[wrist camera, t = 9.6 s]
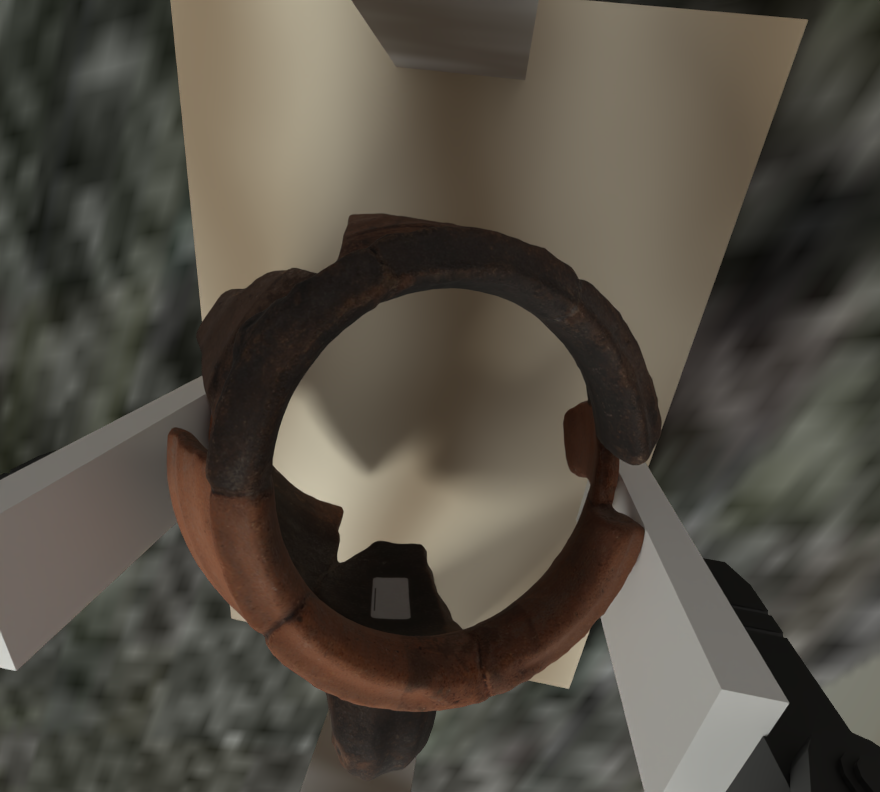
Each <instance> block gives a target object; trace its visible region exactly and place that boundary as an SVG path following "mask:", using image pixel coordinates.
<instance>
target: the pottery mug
mask: <svg viewBox="0 0 880 792" xmlns="http://www.w3.org/2000/svg"><path fill="white" fill-rule="evenodd" d="M449 288H456V289H467V290H473V291H479V292H483V293H487V294H490V295H495V296H498V297H500V298H503V299H506V300H508V301H511V302H513V303H515V304H517V305H518V306H520V307H522V308H524V309H525V310H527V311H528V312H530V313H532V314H533V315H534V316H536V317H537V318H538V319H539V320H540V321H541V322H542V323H543V324H544V325H545V326H546V327H547V328H548V329H549V330H550V331H551V332H552V333H553V334H554V335H555V336H556V337H557V338H558V339H559V340H560V341H561V342H562V343H563V344H564V346H565V347H566V348H567V350H568V351H569V353H570V354H571V355H572V357H573V358H574V360H575V362H576V364H577V366H578V368H579V369H580V371H581V374H582V376H583V379H584V381H585V384H586V390H587V397H588V400H587V401H584V402H581V403H579V404H578V405H576V406H575V407H573V408H571V409H569V410H568V411H567V412H566V413H565V415H564V420H563V430H564V446H565V455H566V460H567V464H568V467H569V469H570V471H571V472H572V473H574V474H575V475H576V476H578V477H582V478H587V479H588V480H589V482H590V488H589V491H588V494H587V497H586V500H585V503H584V506H583V509H582V512H581V515H580V517H579V520H578V522H577V524H576V526H575V528H574V530H573V532H572V534H571V536H570V537H569V539H568V540H567V542H566V544H565V546H564V547H563V549H562V551H561V552H560V553H559V555H558V556H557V557H556V558H555V559H554V561H553V562H552V564H551V566H550V567H549V568H548V570H547V571H546V572H545V573H544V574H543V575H542V577H541V578H540V579H539V580H538V581H537V582H536V583H535V584H534V585H533V586H532V587H531V588H529V589H528V590H527V591H526V592H525V593H524V594H523V595H522V596H520V597H519V598H518V599H517V600H516V601H514V602H513V603H511V604H510V605H509V606H508V607H506V608H505V609H503V610H502V611H501V612H499V613H497V614H496V615H494V616H492V617H490V618H488V619H486V620H484V621H481V622H479V623H477V624H476V625H474V626H472V627H469V628H466V629H462V628H461V627H460V626H459V624H457V623H456V622H455V621H453V619H452V616H451V613H450V611H449V609H448V607H447V605H446V604H445V603H444V601H443V600H442V598H441V597H440V595H439V594H438V592H437V588H436V585H435V582H434V576H433V572H432V570H431V568H430V567H429V565H428V562H427V551H426V549H425V548H424V546H423V545H422V544H413V543H410V544H397V543H391V542H387V541H376V542H374V543H372V544H371V545H370V546H369V547H368V548H366V549H365V550H363V551H361V552H359V553H358V554H356V555H354V556H353V557H351V558H350V559H348V560H346V561H345V562H341V563H340V562H338V559H337V553H338V549H339V543H340V534H339V531H338V530H339V527H340V524H341V521H342V518H343V513H344V511H343V508H342V507H341V506H337V505H334V504H331V503H327V502H324V501H321V500H318V499H316V498H314V497H312V496H310V495H308V494H306V493H304V492H302V491H301V490H299V489H298V488H296V487H295V486H294V485H293V484H292V483H290V482H289V481H288V480H287V479H286V478H285V477H284V476H283V475H282V474H281V473H280V472H279V471H278V470H277V469H276V468H275V467H274V466H273V456H274V450H275V445H276V440H277V437H278V432H279V429H280V425H281V422H282V419H283V416H284V414H285V411H286V409H287V406H288V404H289V401H290V399H291V397H292V395H293V393H294V391H295V389H296V388H297V386H298V384H299V383H300V381H301V380H302V378H303V377H304V375H305V374H306V372H307V371H308V369H309V368H310V367H311V365H312V364H313V363H314V362H315V360H316V359H317V358H318V356H319V355H320V354H321V352H322V351H323V350H324V349H325V348H326V347H327V345H328V344H329V343H330V342H331V341H333V340H334V339H335V338H336V337H337V336H338V335H339V334H340V333H341V332H342V331H343V330H345V329H346V328H347V327H349V326H350V325H351V324H353V323H354V322H355V321H356V320H358V319H359V318H360V317H361V316H363V315H364V314H366V313H367V312H369V311H371V310H373V309H374V308H376V307H377V305H378V304H379V303H382V302H386V301H389V300H391V299H394V298H398V297H401V296H404V295H407V294H411V293H415V292H421V291H427V290H432V289H449ZM196 338H197V341H198V344H199V346H200V349H201V352H202V377H203V385H204V390H205V393H206V396H207V399H208V402H209V405H210V408H211V418H210V426H209V434H208V444H209V445H208V449H206V448H205V447H204V446H203V445H202V444H201V443H200V442H199V440H198V439H197V438H196V437H195V436H194V435H193V434H192V433H190V432H189V431H187V430H184V429H182V428H177V427H174V428H172V429H171V430H170V432H169V434H168V439H167V480H168V485H169V492H170V497H171V501H172V506H173V510H174V513H175V516H176V519H177V522H178V525H179V527H180V530H181V533H182V535H183V537H184V539H185V542H186V544H187V546H188V548H189V550H190V552H191V554H192V556H193V557H194V559H195V561H196V563H197V564H198V566H199V567H200V568H201V570H202V571H203V573H204V574H205V576H206V577H207V578H208V580H209V581H210V582H211V584H212V585H213V586H214V588H215V589H216V590H217V591H218V592H219V593H220V594H221V595H222V597H223V598H224V599H225V600H226V601H227V602H228V603H229V604H230V606H231V607H232V608H233V609H235V610H236V611H237V612H238V613H239V614H240V615H241V616H242V617H243V618H244V619H245V620H246V621H247V622H248V624H249V625H250V626H251V627H252V628H253V629H254V630H255V631H257V632H259V633H261V634H263V635H264V637H265V640H266V644H267V646H268V648H269V649H270V651H271V652H272V654H273V655H274V656H275V657H276V658H277V659H278V660H279V661H280V662H281V663H282V664H283V665H284V666H286V667H288V668H289V669H290V670H292V671H293V672H294V673H296V674H298V675H299V676H301V677H303V678H304V679H305V680H307V681H308V682H309V683H311V684H312V685H313V686H314V687H316V688H318V689H320V690H323V691H324V692H326V696H327V702H328V708H329V712H330V719H331V726H332V733H331V734H332V737H331V740H332V744H333V745H334V747H335V749H336V752H337V755H338V758H339V761H340V763H341V765H342V766H343V767H344V768H345V769H346V770H347V772H348V773H350V774H351V775H353V776H356V777H359V778H361V779H363V780H365V781H371V780H373V779H375V778H377V777H379V776H381V775H383V774H386V773H388V772H390V771H397V770H402V769H404V768H406V767H407V766H408V765H409V764H410V763H411V762H412V760H413V759H414V758H415V757H416V756H417V754H418V753H420V752H421V750H422V749H423V748H424V746H425V745H426V743H427V741H428V738H429V736H430V733H431V730H432V728H433V724H434V720H435V715H436V711H440V710H446V709H452V708H459V707H464V706H467V705H471V704H476V703H481V702H483V701H485V700H487V699H488V698H489V697H491V696H494V695H496V694H503V693H505V692H507V691H510V690H512V689H513V688H514V687H516V686H517V685H519V684H521V683H523V682H526V681H528V680H529V679H531V678H532V677H533V676H534V675H536V674H538V673H540V672H541V671H543V670H544V669H545V668H546V667H547V666H549V665H550V664H551V663H553V662H556V661H557V660H558V659H559V658H561V657H562V656H563V655H564V654H566V653H567V652H568V651H569V650H570V649H571V648H572V647H573V646H574V645H575V644H577V643H578V642H579V641H580V640H581V639H582V638H584V637H585V636H586V634H587V633H588V632H589V630H590V628H591V627H592V625H593V624H594V623H595V622H596V621H597V619H599V618H600V617H601V616H602V615H604V614H605V612H606V610H607V609H608V607H609V606H610V604H611V603H612V602H613V600H614V599H615V597H616V596H617V595H618V593H619V592H620V590H621V589H622V587H623V585H624V583H625V581H626V579H627V577H628V575H629V574H630V573H631V571H632V569H633V567H634V565H635V563H636V561H637V558H638V556H639V554H640V551H641V548H642V544H643V540H644V534H645V530H644V528H643V527H642V526H641V525H640V524H638V523H637V522H636V521H634V520H633V519H632V518H630V517H629V516H627V515H625V514H623V513H619V512H617V511H616V510H615V509H614V508H613V506H612V503H613V500H614V494H615V490H616V487H617V482H618V476H619V460H622V461H624V462H626V463H627V464H630V465H641V464H643V463H645V462H646V461H647V460H648V459H649V457H650V455H651V453H652V451H653V449H654V447H655V445H656V444H657V442H658V440H659V438H660V436H661V427H662V420H661V415H660V411H659V407H658V398H657V395H656V391H655V387H654V384H653V379H652V377H651V376H650V374H649V372H648V370H647V367H646V364H645V360H644V358H643V355H642V352H641V349H640V347H639V344H638V342H637V341H636V339H635V338H634V336H633V334H632V332H631V330H630V329H629V327H628V325H627V323H626V322H625V321H624V320H623V318H622V316H621V314H620V312H619V311H618V310H617V309H616V308H615V307H614V306H613V305H612V304H611V303H610V302H609V300H608V299H607V298H606V297H604V296H603V295H602V294H601V293H600V292H599V290H597V289H596V288H595V286H594V285H592V284H591V283H590V282H588V281H586V280H582V279H579V278H578V276H577V274H576V273H575V271H574V270H573V268H572V267H571V266H569V265H568V264H566V263H564V262H563V261H561V260H559V259H558V258H556V257H555V256H554V255H553V254H552V253H550V252H549V251H548V250H547V249H545V248H543V247H539V246H536V245H531V244H529V243H526V242H523V241H522V240H520V239H517V238H514V237H511V236H507V235H505V234H502V233H500V232H497V231H492V230H487V229H482V228H477V227H466V226H460V225H456V224H453V223H442V222H436V221H429V220H424V219H417V218H412V217H406V216H396V215H390V214H385V213H376V214H352V215H350V216H349V218H348V225H347V227H346V230H345V232H344V235H343V241H342V246H341V250H340V253H339V257H338V259H337V261H336V262H335V263H333V264H331V265H329V266H328V267H326V268H325V269H323V270H321V271H320V272H319V273H314V272H309V271H307V270H302V269H299V268H290V269H288V270H279V271H272V272H269V273H266V274H264V275H263V276H261V277H259V278H257V279H256V280H255V281H254V282H253V283H252V284H250V285H249V286H248V287H246V288H245V289H231V290H228V291H225V292H224V293H223V294H221V295H220V297H219V298H218V299H217V301H216V302H215V304H214V305H213V307H212V308H211V310H210V311H209V313H208V314H207V315H206V317H205V318H204V320H203V321H202V323H201V325H200V327H199V329H198V331H197V336H196Z"/></svg>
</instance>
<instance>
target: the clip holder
mask: <svg viewBox="0 0 880 792" xmlns="http://www.w3.org/2000/svg"><path fill="white" fill-rule="evenodd" d="M171 10H172V20H173V30H174V40H175V51H176V61H177V71H178V81H179V91H180V101H181V111H182V121H183V132H184V142H185V152H186V162H187V172H188V182H189V192H190V202H191V213H192V223H193V233H194V243H195V253H196V263H197V273H198V284H199V294H200V304H201V314H202V321H203V320H204V318H205V317H206V315H207V314H208V313H209V311H210V310H211V308H212V307H213V305H214V304H215V302H216V301H217V299H218V298H219V297H220V295H221V294H223V293H224V292H225V291H228V290H231V289H245V288H246V287H248V286H249V285H250V284H252V283H253V282H254V281H255V280H256V279H257V278H259V277H261V276H263V275H264V274H266V273H269V272H272V271H279V270H288V269H290V268H299V269H302V270H307V271H309V272H314V273H319V272H320V271H321V270H323V269H325V268H326V267H328V266H329V265H331V264H333V263H335V262H336V261H337V259H338V257H339V253H340V250H341V246H342V241H343V235H344V232H345V230H346V227H347V225H348V218H349V216H350V215H352V214H376V213H385V214H390V215H396V216H406V217H412V218H417V219H424V220H429V221H436V222H442V223H453V224H456V225H460V226H466V227H477V228H482V229H487V230H492V231H497V232H500V233H502V234H505V235H507V236H511V237H514V238H517V239H520V240H522V241H523V242H526V243H529V244H531V245H536V246H539V247H543V248H545V249H547V250H548V251H549V252H550V253H552V254H553V255H554V256H555V257H556V258H558V259H559V260H561V261H563V262H564V263H566V264H568V265H569V266H571V267H572V268H573V270H574V271H575V273H576V274H577V276H578V278H579V279H582V280H586V281H588V282H590V283H591V284H592V285H594V286H595V288H596V289H597V290H599V292H600V293H601V294H602V295H603V296H604V297H606V298H607V299H608V300H609V302H610V303H611V304H612V305H613V306H614V307H615V308H616V309H617V310H618V311H619V312H620V314H621V316H622V318H623V320H624V321H625V322H626V323H627V325H628V327H629V329H630V330H631V332H632V334H633V336H634V338H635V339H636V341H637V342H638V344H639V347H640V349H641V352H642V355H643V358H644V360H645V364H646V367H647V370H648V372H649V374H650V376H651V377H652V379H653V384H654V387H655V391H656V395H657V398H658V407H659V411H660V415H661V420H662V427H663V424H664V422H665V419H666V416H667V413H668V410H669V408H670V405H671V402H672V399H673V396H674V394H675V391H676V388H677V385H678V382H679V380H680V377H681V374H682V371H683V368H684V366H685V363H686V360H687V357H688V354H689V352H690V349H691V346H692V343H693V341H694V338H695V335H696V332H697V329H698V327H699V324H700V321H701V318H702V315H703V313H704V310H705V307H706V304H707V301H708V299H709V296H710V293H711V290H712V287H713V285H714V282H715V279H716V276H717V273H718V271H719V268H720V265H721V262H722V259H723V257H724V254H725V251H726V248H727V245H728V243H729V240H730V237H731V234H732V231H733V229H734V226H735V223H736V220H737V218H738V215H739V212H740V209H741V206H742V204H743V201H744V198H745V195H746V192H747V190H748V187H749V184H750V181H751V178H752V176H753V173H754V170H755V167H756V164H757V162H758V159H759V156H760V153H761V150H762V148H763V145H764V142H765V139H766V136H767V134H768V131H769V128H770V125H771V122H772V120H773V117H774V114H775V111H776V108H777V106H778V103H779V100H780V97H781V95H782V92H783V89H784V86H785V83H786V81H787V78H788V75H789V72H790V69H791V67H792V64H793V61H794V58H795V55H796V53H797V50H798V47H799V44H800V41H801V39H802V36H803V33H804V30H805V27H806V25H807V22H808V20H807V19H795V18H784V17H773V16H761V15H750V14H738V13H727V12H715V11H704V10H692V9H681V8H669V7H658V6H647V5H635V4H624V3H612V2H601V1H589V0H171ZM587 400H588V397H587V390H586V384H585V381H584V379H583V376H582V374H581V371H580V369H579V368H578V366H577V364H576V362H575V360H574V358H573V357H572V355H571V354H570V353H569V351H568V350H567V348H566V347H565V346H564V344H563V343H562V342H561V341H560V340H559V339H558V338H557V337H556V336H555V335H554V334H553V333H552V332H551V331H550V330H549V329H548V328H547V327H546V326H545V325H544V324H543V323H542V322H541V321H540V320H539V319H538V318H537V317H536V316H534V315H533V314H532V313H530V312H528V311H527V310H525V309H524V308H522V307H520V306H518V305H517V304H515V303H513V302H511V301H508V300H506V299H503V298H500V297H498V296H495V295H490V294H487V293H483V292H479V291H473V290H467V289H456V288H449V289H432V290H427V291H421V292H415V293H411V294H407V295H404V296H401V297H398V298H394V299H391V300H389V301H386V302H382V303H379V304H378V305H377V307H376V308H374V309H373V310H371V311H369V312H367V313H366V314H364V315H363V316H361V317H360V318H359V319H358V320H356V321H355V322H354V323H353V324H351V325H350V326H349V327H347V328H346V329H345V330H343V331H342V332H341V333H340V334H339V335H338V336H337V337H336V338H335V339H334V340H333V341H331V342H330V343H329V344H328V345H327V347H326V348H325V349H324V350H323V351H322V352H321V354H320V355H319V356H318V358H317V359H316V360H315V362H314V363H313V364H312V365H311V367H310V368H309V369H308V371H307V372H306V374H305V375H304V377H303V378H302V380H301V381H300V383H299V384H298V386H297V388H296V389H295V391H294V393H293V395H292V397H291V399H290V401H289V404H288V406H287V409H286V411H285V414H284V416H283V419H282V422H281V425H280V429H279V432H278V437H277V440H276V445H275V450H274V456H273V466H274V467H275V468H276V469H277V470H278V471H279V472H280V473H281V474H282V475H283V476H284V477H285V478H286V479H287V480H288V481H289V482H290V483H292V484H293V485H294V486H295V487H296V488H298V489H299V490H301V491H302V492H304V493H306V494H308V495H310V496H312V497H314V498H316V499H318V500H321V501H324V502H327V503H331V504H334V505H337V506H341V507H342V508H343V511H344V513H343V518H342V521H341V524H340V527H339V530H338V531H339V534H340V543H339V549H338V553H337V559H338V562H340V563H341V562H345V561H346V560H348V559H350V558H351V557H353V556H354V555H356V554H358V553H359V552H361V551H363V550H365V549H366V548H368V547H369V546H370V545H371V544H372V543H374V542H376V541H387V542H391V543H397V544H410V543H413V544H422V545H423V546H424V548H425V549H426V551H427V562H428V565H429V567H430V568H431V570H432V572H433V576H434V582H435V585H436V588H437V592H438V594H439V595H440V597H441V598H442V600H443V601H444V603H445V604H446V605H447V607H448V609H449V611H450V613H451V616H452V619H453V621H455V622H456V623H457V624H459V626H460V627H461V628H462V629H466V628H469V627H472V626H474V625H476V624H477V623H479V622H481V621H484V620H486V619H488V618H490V617H492V616H494V615H496V614H497V613H499V612H501V611H502V610H503V609H505V608H506V607H508V606H509V605H510V604H511V603H513V602H514V601H516V600H517V599H518V598H519V597H520V596H522V595H523V594H524V593H525V592H526V591H527V590H528V589H529V588H531V587H532V586H533V585H534V584H535V583H536V582H537V581H538V580H539V579H540V578H541V577H542V575H543V574H544V573H545V572H546V571H547V570H548V568H549V567H550V566H551V564H552V562H553V561H554V559H555V558H556V557H557V556H558V555H559V553H560V552H561V551H562V549H563V547H564V546H565V544H566V542H567V540H568V539H569V537H570V536H571V534H572V532H573V530H574V528H575V526H576V524H577V521H576V518H577V515H578V511H579V508H580V505H581V501H582V498H583V495H584V491H585V488H586V485H587V481H588V479H587V478H582V477H578V476H576V475H575V474H574V473H572V472H571V471H570V469H569V467H568V464H567V460H566V455H565V446H564V430H563V420H564V415H565V413H566V412H567V411H568V410H569V409H571V408H573V407H575V406H576V405H578V404H579V403H581V402H584V401H587ZM662 427H661V430H662ZM655 447H656V445H655ZM655 447H654V449H653V451H652V453H651V455H650V457H649V459H648V460H647V461H646V462H645V463H646V464H647V466H649V464H650V461H651V458H652V455H653V452H654V450H655ZM230 608H231V618H232V619H236V620H241V621H246V620H245V619H244V618H243V617H242V616H241V615H240V614H239V613H238V612H237V611H236V610H235V609H233V608H232V607H231V606H230ZM246 622H247V621H246ZM589 631H590V630H589ZM588 634H589V632H588V633H587V634H586V636H585V637H584V638H582V639H581V640H580V641H579V642H578V643H577V644H575V645H574V646H573V647H572V648H571V649H570V650H569V651H568V652H567V653H566V654H564V655H563V656H562V657H561V658H559V659H558V660H557V661H556V662H553V663H551V664H550V665H549V666H547V667H546V668H545V669H544V670H543V671H541V672H540V673H538V674H536V675H534V676H533V677H532V678H531V679H529V681H534V682H539V683H544V684H549V685H553V686H558V687H563V688H568V689H569V687H570V684H571V682H572V679H573V676H574V673H575V670H576V668H577V665H578V662H579V659H580V656H581V654H582V651H583V648H584V645H585V642H586V640H587V637H588ZM331 733H332V726H331V719H330V712H329V711H328V714H327V716H326V719H325V722H324V725H323V728H322V731H321V733H320V736H319V739H318V742H317V745H316V748H315V750H314V753H313V756H312V759H311V762H310V765H309V767H308V770H307V773H306V776H305V779H304V782H303V784H302V787H301V790H300V792H411V786H412V780H413V774H414V767H415V761H416V757H415V758H414V759H413V760H412V762H411V763H410V764H409V765H408V766H407V767H406V768H404V769H402V770H397V771H390V772H388V773H386V774H383V775H381V776H379V777H377V778H375V779H373V780H371V781H365V780H363V779H361V778H359V777H356V776H353V775H351V774H350V773H348V772H347V770H346V769H345V768H344V767H343V766H342V765H341V763H340V761H339V758H338V755H337V752H336V749H335V747H334V745H333V744H332V740H331V737H332V734H331Z"/></svg>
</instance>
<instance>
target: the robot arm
mask: <svg viewBox="0 0 880 792" xmlns="http://www.w3.org/2000/svg"><path fill="white" fill-rule="evenodd" d="M210 418H211V408H210V405H209V402H208V399H207V396H206V393H205V390H204V385H203V377H202V376H201V377H199V378H197V379H195V380H193V381H191V382H189V383H187V384H185V385H183V386H181V387H179V388H177V389H176V390H174V391H172V392H170V393H168V394H166V395H164V396H162V397H160V398H158V399H156V400H154V401H152V402H150V403H148V404H146V405H145V406H143V407H141V408H139V409H137V410H135V411H133V412H131V413H129V414H127V415H125V416H123V417H121V418H119V419H117V420H115V421H113V422H112V423H110V424H108V425H106V426H104V427H102V428H100V429H98V430H96V431H94V432H92V433H90V434H88V435H86V436H84V437H82V438H81V439H79V440H77V441H75V442H73V443H71V444H69V445H67V446H65V447H63V448H61V449H59V450H56V451H53V452H49V453H46V454H43V455H40V456H38V457H36V458H34V459H32V460H30V461H28V462H26V463H24V464H22V465H20V466H18V467H16V468H14V469H12V470H11V472H10V473H9V474H7V473H4V474H2V475H0V668H5V669H9V670H14V671H17V670H18V669H19V668H20V667H21V666H22V665H23V664H24V663H26V662H27V661H28V660H29V659H30V658H31V657H32V656H33V655H34V654H35V653H36V652H37V651H38V650H40V649H41V648H42V647H43V646H44V645H45V644H46V643H47V642H48V641H49V640H50V639H51V638H52V637H54V636H55V635H56V634H57V633H58V632H59V631H60V630H61V629H62V628H63V627H64V626H65V625H67V624H68V623H69V622H70V621H71V620H72V619H73V618H74V617H75V616H76V615H77V614H78V613H79V612H81V611H82V610H83V609H84V608H85V607H86V606H87V605H88V604H89V603H90V602H91V601H92V600H93V599H95V598H96V597H97V596H98V595H99V594H100V593H101V592H102V591H103V590H104V589H105V588H106V587H107V586H109V585H110V584H111V583H112V582H113V581H114V580H115V579H116V578H117V577H118V576H119V575H120V574H121V573H123V572H124V571H125V570H126V569H127V568H128V567H129V566H130V565H131V564H132V563H133V562H134V561H136V560H137V559H138V558H139V557H140V556H141V555H142V554H143V553H144V552H145V551H146V550H147V549H148V548H150V547H151V546H152V545H153V544H154V543H155V542H156V541H157V540H158V539H159V538H160V537H161V536H162V535H164V534H165V533H166V532H167V531H168V530H169V529H170V528H171V527H172V526H173V525H174V524H175V523H176V522H177V519H176V516H175V513H174V510H173V506H172V501H171V497H170V492H169V485H168V480H167V439H168V434H169V432H170V430H171V429H172V428H174V427H177V428H182V429H184V430H187V431H189V432H190V433H192V434H193V435H194V436H195V437H196V438H197V439H198V440H199V442H200V443H201V444H202V445H203V446H204V447H205V448H206V449H208V445H209V444H208V434H209V426H210ZM589 488H590V482H589V480H588V481H587V485H586V488H585V491H584V495H583V498H582V501H581V505H580V508H579V511H578V515H577V518H576V521H577V522H578V520H579V517H580V515H581V512H582V509H583V506H584V503H585V500H586V497H587V494H588V491H589ZM612 506H613V508H614V509H615V510H616V511H617V512H619V513H623V514H625V515H627V516H629V517H630V518H632V519H633V520H634V521H636V522H637V523H638V524H640V525H641V526H642V527H643V528H644V530H645V534H644V540H643V544H642V548H641V551H640V554H639V556H638V558H637V561H636V563H635V565H634V567H633V569H632V571H631V573H630V574H629V575H628V577H627V579H626V581H625V583H624V585H623V587H622V589H621V590H620V592H619V593H618V595H617V596H616V597H615V599H614V600H613V602H612V603H611V604H610V606H609V607H608V609H607V610H606V612H605V614H604V615H602V616H601V621H602V625H603V629H604V633H605V637H606V641H607V645H608V649H609V653H610V657H611V661H612V665H613V669H614V673H615V677H616V681H617V684H618V688H619V692H620V696H621V700H622V704H623V708H624V712H625V716H626V720H627V724H628V728H629V732H630V736H631V740H632V744H633V748H634V752H635V756H636V760H637V764H638V768H639V772H640V776H641V780H642V784H643V788H644V792H880V747H879V746H878V745H876V744H875V743H873V742H872V741H870V740H867V739H865V738H863V737H860V736H858V735H856V734H854V733H852V732H851V731H850V730H849V728H848V727H847V725H846V724H845V722H844V721H843V719H842V718H841V716H840V715H839V714H838V712H837V711H836V709H835V708H834V706H833V705H832V703H831V702H830V701H829V699H828V698H827V696H826V695H825V693H824V692H823V690H822V689H821V687H820V686H819V684H818V683H817V681H816V680H815V679H814V677H813V676H812V674H811V673H810V671H809V670H808V668H807V667H806V665H805V664H804V662H803V661H802V660H801V658H800V657H799V655H798V654H797V652H796V651H795V649H794V648H793V646H792V645H791V644H790V642H789V641H788V639H787V638H783V632H782V630H781V629H780V627H779V626H778V625H777V623H776V622H775V620H774V619H773V617H772V616H770V615H768V610H767V609H766V607H765V606H764V604H763V603H762V601H761V600H760V598H759V597H758V595H757V594H756V592H755V591H754V590H753V588H752V587H751V585H750V584H749V583H747V582H746V581H745V580H744V579H743V578H742V577H741V576H740V575H739V574H737V573H736V572H735V571H734V570H733V569H732V568H731V567H730V566H729V565H727V564H726V563H725V562H721V561H715V560H710V559H704V558H702V556H701V555H700V553H699V551H698V549H697V548H696V546H695V544H694V543H693V541H692V539H691V538H690V536H689V534H688V533H687V531H686V529H685V528H684V526H683V524H682V523H681V521H680V519H679V518H678V516H677V514H676V513H675V511H674V509H673V508H672V506H671V504H670V503H669V501H668V499H667V498H666V496H665V494H664V493H663V491H662V489H661V488H660V486H659V484H658V483H657V481H656V479H655V478H654V476H653V474H652V473H651V471H650V469H649V468H648V466H647V464H646V463H643V464H641V465H630V464H627V463H626V462H624V461H622V460H619V476H618V482H617V487H616V490H615V494H614V500H613V503H612Z"/></svg>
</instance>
